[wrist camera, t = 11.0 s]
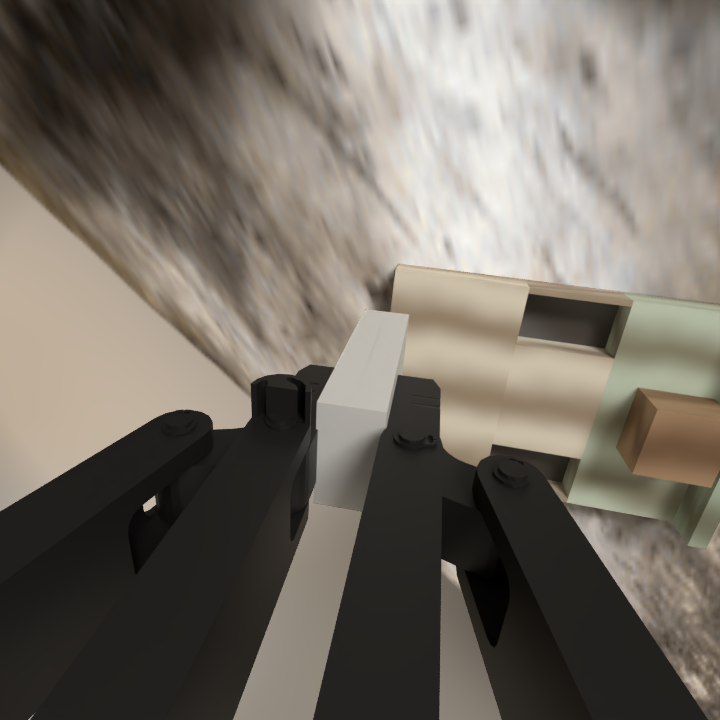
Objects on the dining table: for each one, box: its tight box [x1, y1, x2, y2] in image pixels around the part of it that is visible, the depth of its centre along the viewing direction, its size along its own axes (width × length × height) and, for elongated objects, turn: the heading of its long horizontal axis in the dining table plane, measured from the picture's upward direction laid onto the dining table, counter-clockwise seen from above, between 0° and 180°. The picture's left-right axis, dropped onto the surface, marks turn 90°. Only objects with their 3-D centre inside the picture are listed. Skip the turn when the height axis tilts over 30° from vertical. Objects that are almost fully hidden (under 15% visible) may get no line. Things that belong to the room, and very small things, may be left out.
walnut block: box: [616, 387, 720, 488], centre depth 38 cm, size 6×6×4 cm
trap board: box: [390, 264, 720, 549], centre depth 41 cm, size 20×30×6 cm, turn 84°
